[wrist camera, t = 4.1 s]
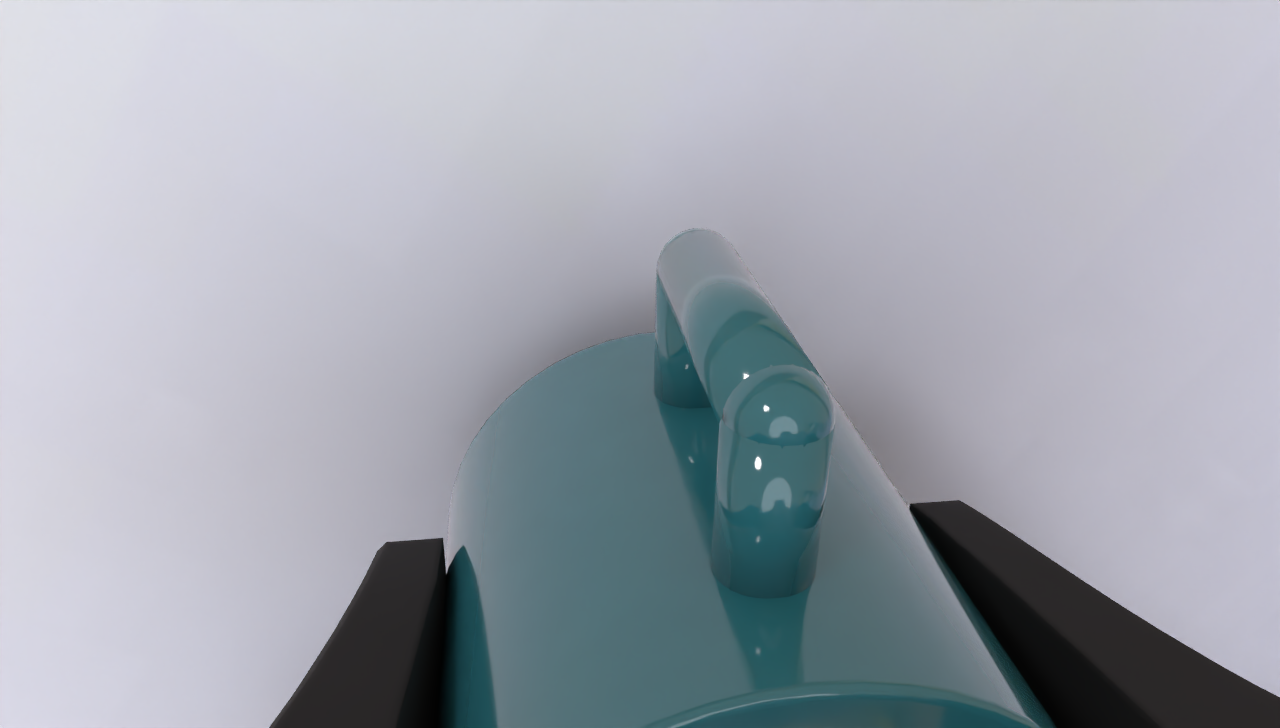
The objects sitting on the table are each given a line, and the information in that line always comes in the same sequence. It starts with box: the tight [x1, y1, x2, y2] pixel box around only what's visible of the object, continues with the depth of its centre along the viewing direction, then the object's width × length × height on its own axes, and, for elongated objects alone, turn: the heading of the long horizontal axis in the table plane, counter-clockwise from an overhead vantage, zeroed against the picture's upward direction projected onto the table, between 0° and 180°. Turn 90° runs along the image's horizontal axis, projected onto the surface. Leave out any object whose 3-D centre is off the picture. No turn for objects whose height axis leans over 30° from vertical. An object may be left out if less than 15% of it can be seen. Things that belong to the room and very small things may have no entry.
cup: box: [436, 228, 1057, 728], centre depth 9 cm, size 5×7×6 cm
